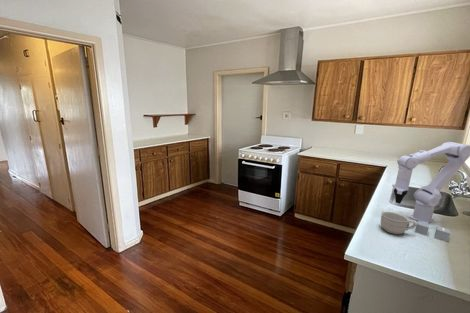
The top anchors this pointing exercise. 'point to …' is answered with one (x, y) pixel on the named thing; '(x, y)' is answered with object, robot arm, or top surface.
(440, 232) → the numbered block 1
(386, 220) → the teacup
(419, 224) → the plain block
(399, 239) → the top surface
